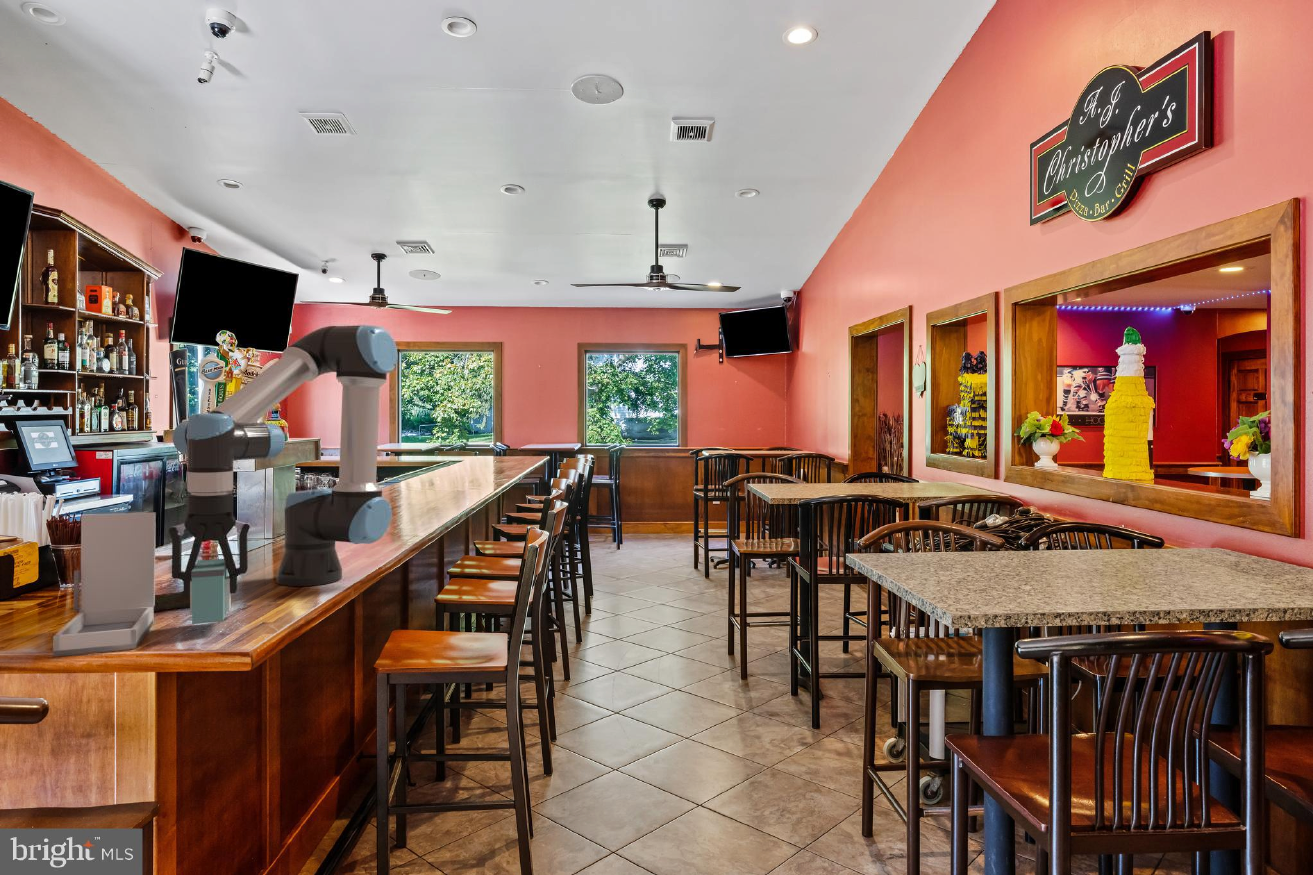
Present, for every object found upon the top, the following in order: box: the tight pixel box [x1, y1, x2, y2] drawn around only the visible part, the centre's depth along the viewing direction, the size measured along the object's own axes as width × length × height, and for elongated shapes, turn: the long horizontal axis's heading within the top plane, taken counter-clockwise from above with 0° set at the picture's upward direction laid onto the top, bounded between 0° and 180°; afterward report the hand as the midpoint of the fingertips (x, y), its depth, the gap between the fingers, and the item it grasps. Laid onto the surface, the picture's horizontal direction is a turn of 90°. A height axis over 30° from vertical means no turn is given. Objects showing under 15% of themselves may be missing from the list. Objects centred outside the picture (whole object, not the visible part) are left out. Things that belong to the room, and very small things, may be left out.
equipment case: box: [52, 511, 157, 658], centre depth 132 cm, size 12×18×22 cm
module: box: [191, 558, 229, 625], centre depth 139 cm, size 5×10×10 cm, turn 26°
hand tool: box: [154, 591, 190, 612], centre depth 151 cm, size 19×4×5 cm, turn 135°
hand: (210, 611), depth 139 cm, fingers closed on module, 5 cm apart
